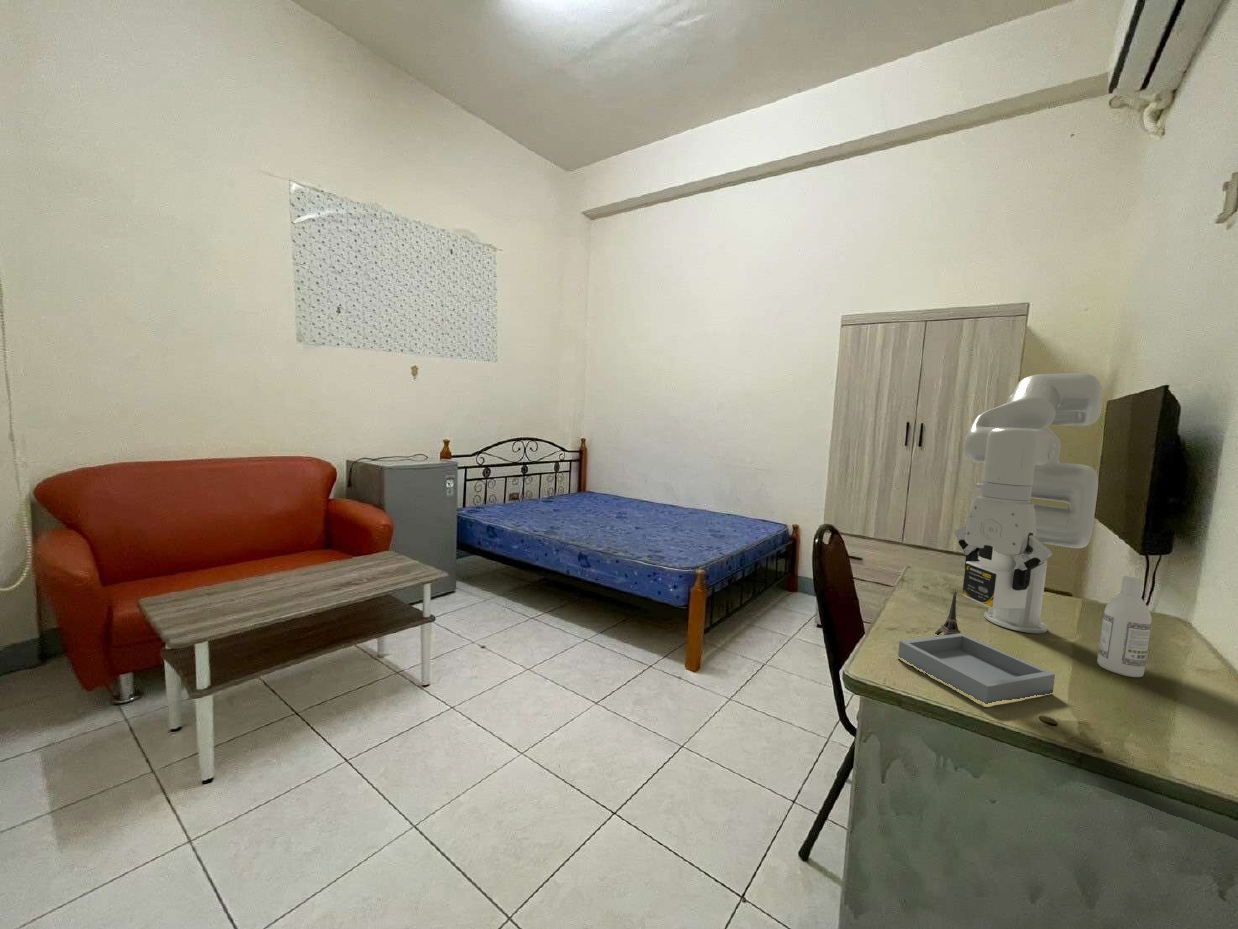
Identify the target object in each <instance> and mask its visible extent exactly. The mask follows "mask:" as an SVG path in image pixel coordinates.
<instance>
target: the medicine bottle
mask: <svg viewBox="0 0 1238 929" xmlns="http://www.w3.org/2000/svg"><path fill="white" fill-rule="evenodd" d="M978 560H980V561H967V562H966V565H965V564H964V574H963V575H964V576H963V582H962V583H963V585H962V591H961V592H962V593H961V595H962V596H963V597H965V598H967V599H970V600H972V601H974V602H976V603H978V604H979V603H981V604H983V605H985V606H984V607H987V608H988V607H989V608H992V609H1024V608H1025V604H1026V596H1027V589H1028V587H1027V589H1026V590H1018V591H1017V590H1014V589H1013V588H1012V585H1013V577H1014V570H1015V569H1017V568H1015V567H1016V566H1017V564H1016V562H1015V560H1014V558H1013V556H1009V555H1004V554H1000V553H998V552H996V551H994V547H992V546H989V545H984V548H981V549H980V548H979V553H978ZM981 604H980V605H981ZM983 605H982V606H983Z"/></svg>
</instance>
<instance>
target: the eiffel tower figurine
mask: <svg viewBox="0 0 1238 929" xmlns="http://www.w3.org/2000/svg"><path fill="white" fill-rule="evenodd" d="M956 588H957V587H956V586H955V588H954V591H953V592H952V594H953V595H952V600H951V605H950V609H949V610H950V611H949V613H948V617H946V621H945V622H944V624H943V625H941V626H940V628H938V629H937V630H936V631H935V632H934V633H935V634H937V635H941V634H942V633H943V635H951V634H959V633H961V630H960V629H959V627H958V623H957V622H958V619H957V616H956V614H957V612H956V611H957V610H956V607H957V604H956V603H957V595H958V594H957V593H958V592H957V591H956ZM984 642H985V641H983V642H982V643H984Z"/></svg>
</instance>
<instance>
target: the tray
mask: <svg viewBox="0 0 1238 929" xmlns="http://www.w3.org/2000/svg"><path fill="white" fill-rule="evenodd" d="M942 635H943V636H935V637H930V636H929V637H920V638H915V639H913V638H912V639H907V640H906V639H905V640H900V641H899V643H898V644H899V645H898V652H897V653H898V654H897V657H898V656H899V657H900V658H903V659H904V660H906V661H907V662H909V663H910V664H913V665H914V666H916V667H917V668H919V669H922V670H923V671H925V672H926V673H928V674H930V675H933V676H934V677H936V678H937V679H940V680H942V681H943V682H945V683H947V684H950V685H952V686H953V687H955V688H956V689H959V690H961V691H963V692H964V693H966V694H968V695H971V696H973V697H974V698H975V699H977V700H980V701H982V702H984V703H985V704H988V703H992V702H996V701H1002V700H1012V699H1020V698H1025V697H1030V696H1034V695H1036V696H1037V695H1045V694H1050V693H1053V692H1054V686H1055V678H1056V673H1054V672H1051V671H1048V670H1046V669H1044V668H1042V667H1040V666H1037V665H1035V664H1032V663H1030V662H1028V661H1026V660H1023V659H1022V658H1019V657H1016V656H1014V655H1012V654H1010V653H1007V652H1005V651H1003V650H1000V649H998V648H996V647H993V646H991V645H988V644H987V643H986V642H985V643H986V644H985V643H982V642H980V641H978V640H979V639H978V640H975V639H973V638H974V637H973V638H971V637H972V636H970V637H968V636H969V635H967V634H965V635H964V633H961V632H960V633H959V634H951V635H944V634H942ZM966 635H967V636H966Z"/></svg>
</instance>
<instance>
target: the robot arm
mask: <svg viewBox="0 0 1238 929" xmlns="http://www.w3.org/2000/svg"><path fill="white" fill-rule="evenodd" d="M1006 400H1007V401H1006V403H1003V404H1002V405H999V406H997V407H994V408H991V409H988V410H987V411H984V412H982V413H980V414H979V415H977V417H976V418H975V419H974V420H973V422H972V424H971V425H970V428H969V430H968V431H967V434H966V436H965V440H964V445H963V446H964V448H963V450H964V453H965V456H966V457H967V458H968V459H969V461H972V462H975V463H980V464H981V463H982V464H983V471H982V481H981V483H980V482H978V483H976V485H975V490H976V491H980V493H979V494H980V495H979V496H975V497H974V500H973V503H972V505H971V506H970V510H969V514H968V518H967V523H966V525H965V526H964V527H961V528H958V529H956V530H954V535H955V537H956V539H957V541H958V544H959V546H960V547H961V549H962V553H963V554H964V555H965V560H964V561H965V563H964V566H965V565H966V562H967V561H980V560H978V554H979V548H980V549H981V548H984V545H989V546H992V547H994V551H996V552H998V553H1000V554H1004V555H1009V556H1013V558H1014V560H1015V562H1016V564H1017V566H1016V567H1015V568H1017V569H1015V570H1014V577H1013V585H1012V588H1013V589H1014V590H1017V591H1018V590H1026V589H1027V587H1028V589H1027V596H1026V604H1025V608H1024V609H992V608H989V607H987V610H986V611H984V615H983V616H984V618H985V619H986V620H987V621H988V622H991V623H992V624H995V625H996V626H999V627H1002V628H1006V629H1009V630H1012V631H1018V632H1022V633H1027V634H1028V633H1029V634H1044V633H1046V632H1047V631H1048V625H1046V624H1045V623H1044V622H1042V621H1041V613H1042V606H1043V598H1044V591H1045V584H1046V578H1047V577H1046V576H1047V575H1046V574H1047V568H1048V561H1047V560H1048V559H1050V558H1051V557H1052V555H1053V551H1051V550H1050V548H1048V546H1046V545H1052V546H1058V547H1064V548H1070V549H1071V548H1072V549H1083V548H1086V547H1087V546H1088V544H1090V541H1091V539H1092V535H1093V530H1094V529H1093V528H1094V521H1095V513H1096V505H1097V499H1098V488H1099V479H1098V478H1099V477H1098V474H1097V471H1096V470H1095V469H1094V468H1093V467H1091V466H1090V465H1085V464H1079V463H1070V462H1069V463H1068V462H1061V461H1060V452H1061V446H1062V444H1061V440H1060V438H1059V437H1058V436H1057V435H1056V434H1055V432H1053V430H1051V428H1049V427H1050V426H1065V427H1066V426H1068V427H1069V426H1071V427H1085V426H1086V427H1087V426H1091V425H1093V424H1095V423H1097V421H1098V420H1099V419H1100V416H1101V414H1102V409H1103V389H1102V385H1101V382H1100V380H1099V379H1098V378H1097V377H1096V376H1094V375H1093V374H1091V373H1086V372H1078V373H1077V372H1075V373H1074V372H1072V373H1071V372H1069V373H1066V372H1065V373H1063V372H1062V373H1038V374H1033V375H1029V376H1026V377H1024V378H1023V379H1021V380H1020V381H1019V382H1018V383H1017V385H1016V386H1015V388H1014V391H1013V393H1012V394H1011V395H1009V397H1008V399H1006ZM1031 499H1036V500H1046V501H1052V502H1054V501H1055V502H1062V503H1066V504H1068V505H1069V508H1068V507H1063V506H1062V507H1061V506H1053V505H1047V504H1039V503H1033V502H1032V503H1031ZM1044 544H1045V545H1044ZM978 604H979V605H981V606H984V607H986V606H985V605H983V604H981V603H978Z"/></svg>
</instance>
